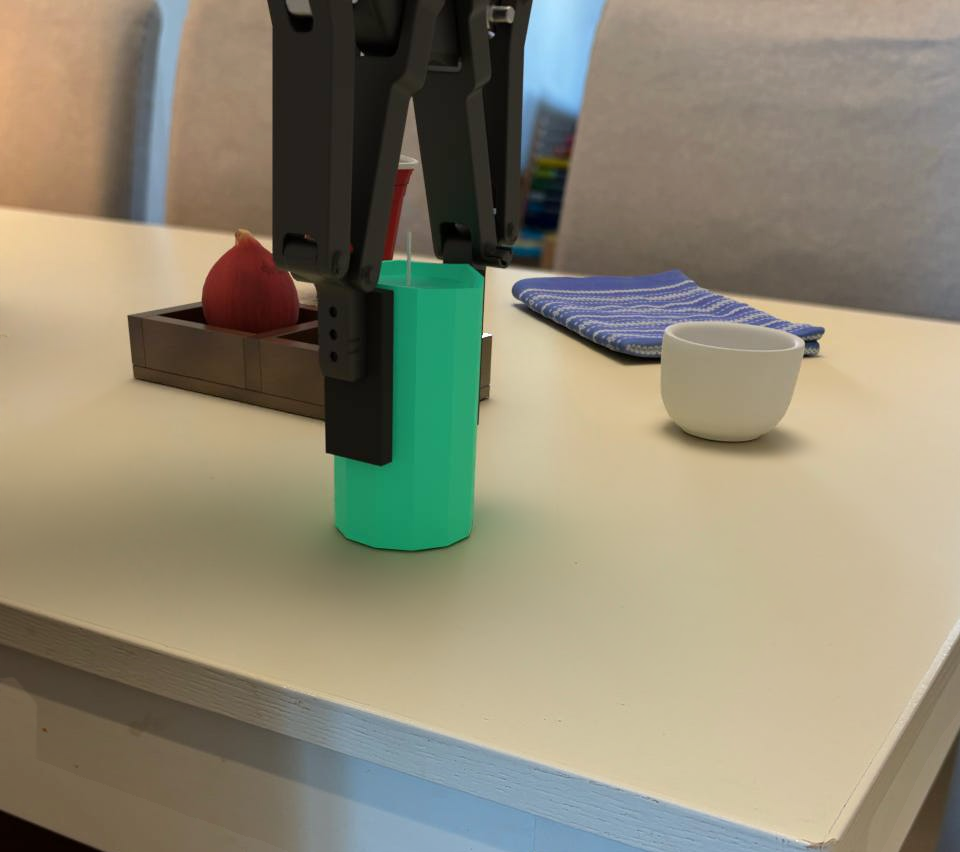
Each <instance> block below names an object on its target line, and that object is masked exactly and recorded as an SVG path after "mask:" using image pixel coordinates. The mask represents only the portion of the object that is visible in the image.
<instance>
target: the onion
mask: <svg viewBox="0 0 960 852" xmlns="http://www.w3.org/2000/svg"><path fill="white" fill-rule="evenodd" d="M234 238H235V240H234V241H235V243H234V245H233V246H232V247H231V248H229V249H228V250H227V251H226V252H225V253H224V254H222V255H221V256H220V257H219V259H217V260H216V261H215V263H214V264H213V265H212V267H211V268H210V269H209V271H208V273H207V276H206V277H205V280H204V283H203V286H202V290H201V291H202V292H201V301H202V307H203V313H204V317H205V319H206V321H207V322H208V324H209V325H211V326H216V327H222V328H227V329H232V330H238V331H243V332H249V333H254V334H260V333H264V332H269V331H273V330H277V329H281V328H286V327H290V326H294V325H296V323H297V321H298V316H299V303H300V300H299V299H300V298H299V294H298V290H297V287H296V285H295V282H294V280H293V277H292V275H291V273H290V272H288V271H282V270H279V269H278V268H277V267H276V266H275V264H274V261H273V255H272V251H269V250H268V249H267V248H266V247H264V245H262V244H261V242H260V241H258V240H257V239H256V237H254V236H253V235H252V234H251V232H250V230H247V229H243V228H238V229H237V230H235V233H234Z"/></svg>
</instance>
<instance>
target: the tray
mask: <svg viewBox="0 0 960 852" xmlns="http://www.w3.org/2000/svg"><path fill="white" fill-rule="evenodd" d="M126 316H127V327H128V328H127V329H128V337H129V345H130V358H131V365H132V367H131V368H132V375H133V378H134V379H139V380H143V381H147V382H152V383H157V384H161V385H166V386H169V387H170V386H171V387H175V388H179V389H184V390H188V391H192V392H196V393H201V394H205V395H211V396H214V397H215V396H216V397H219V398H224V399H229V400H233V401H237V402H242V403H247V404H250V405H251V404H252V405H255V406H260V407H265V408H269V409H273V410H277V411H283V412H288V413H290V414H291V413H292V414H295V415H301V416H305V417H310V418H312V419H313V418H314V419H319V420H323V421H325V396H324V376H322V372H321V369H320V366H319V351H318V349H319V346H318V337H319V335H318V305H315V304H308V303H304V302H303V303H302V302H299V316H298V321H297V323H296V325H294V326H290V327H286V328H281V329H277V330H273V331H269V332H264V333H260V334H254V333H249V332H243V331H238V330H232V329H227V328H222V327H216V326H211V325H209V324H208V322H207V321H206V319H205V317H204V313H203V307H202V300H201V301H196V302H190V303H186V304H180V305H174V306H170V307H163V308H158V309H153V310H149V311H143V312H138V313H132V314H127V315H126ZM492 350H493V334H490V333H489V334H488V333H484V332H483V341H482V363H481V384H480V400H481V399H483V398H486V399H488V398H487V397H489V398H490V395H491V393H490V392H491V374H492V373H491V371H492V353H493V352H492ZM483 400H484V399H483ZM481 401H482V400H481Z"/></svg>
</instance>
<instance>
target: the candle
mask: <svg viewBox="0 0 960 852" xmlns="http://www.w3.org/2000/svg"><path fill="white" fill-rule="evenodd" d="M406 234H407V235H406V237H407V238H406V259H393V260H388V261H382V265H381V270H380V276H379V280H378V284H377V286H376V288H381V289H388V290H394V341H393V439H392V462H391V463H388V464H386V465H384V466H377V465H373V464H369V463H365V462H361V461H356V460H352V459H348V458H344V457H340V456H336V455H333V475H334V477H333V480H334V481H333V482H334V487H333V488H334V489H333V491H334V526H335V527H336V528H337V529H338V530H339V532H341V534H342V535H343V536H344V537H345V538H346V539H348V540H352V541H354V542H357V543H360V544H364V545H366V546H369V547H372V548H376V549H386V550H387V549H389V550H399V551H401V550H402V551H412V552H413V551H419V550H428V549H434V548H442V547H443V548H444V547H448V546H450V545H452V544H454V543H457V542H459V541H461V540H463V539H466V538H468V537H470V533H471V530H472V526H473V523H474V504H475V503H474V502H475V485H476V484H475V483H476V482H475V481H476V461H477V459H476V458H477V440H478V425H477V420H478V398H479V377H480V355H481V334H482V312H483V290H484V277H483V276H482V275H481V274H480V273H479V272H477V271H476V270H475V269H474V268H473V267H471V266H470V265H469V264H446V263H443V262H442V263H441V262H430V261H419V260H412V231H410V230H407V233H406Z"/></svg>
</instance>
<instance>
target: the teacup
mask: <svg viewBox="0 0 960 852" xmlns="http://www.w3.org/2000/svg"><path fill="white" fill-rule="evenodd" d="M804 350H805V342H804V340H803V339H801V338H800V337H798V336H796V335H793V334H791V333H788V332H784V331H781V330H777V329H772V328H767V327H762V326H756V325H749V324H741V323H730V322H685V323H678V324H674V325H670V326H668V327H667V328H666V329H665V331H664V335H663V341H662V351H661V358H660V377H659V378H660V379H659V380H660V381H659V383H660V384H659V385H660V395H661V400H662V404H663V406H664V409H665V411H666V412H667V414H668V416H669V417H670V419H671V420H672V422H674V424H676V425H677V426H678V427H679V428H680V429H681V430H682V431H683V432H685V433H687V434H689V435H691V436H694V437H697V438H701V439H704V440H705V439H706V440H709V441H710V440H711V441H718V442H737V443H738V442H746V441H752V440H755V439H757V438H760V437H761V436H762V435H765V434H768V432H770V431H772V430H773V429H775V427H776V426H777V425H778V424H779V423H780V422H781V421H782V419H784V417H785V415H786V414H787V411H788V409H789V407H790V405H791V403H792V399H793V397H794V392H795V389H796V386H797V383H798V382H797V381H798V378H799V373H800V370H801V367H802V362H803V359H804V356H805V355H804Z"/></svg>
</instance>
